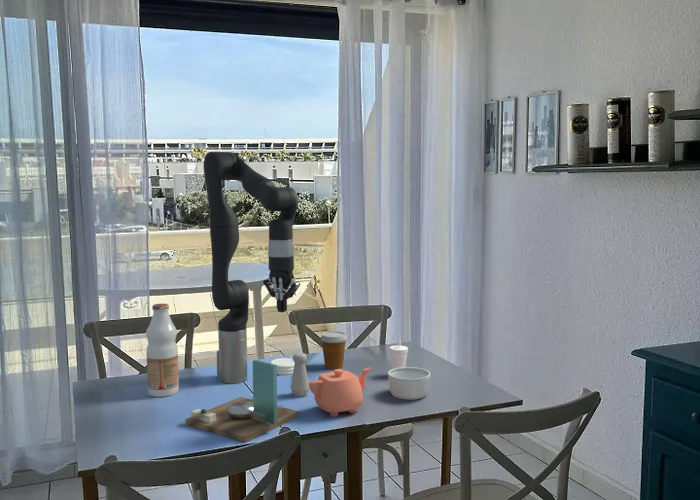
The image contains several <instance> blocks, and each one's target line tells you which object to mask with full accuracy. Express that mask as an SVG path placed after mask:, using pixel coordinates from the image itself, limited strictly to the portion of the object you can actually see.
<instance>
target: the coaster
mask: <svg viewBox="0 0 700 500" xmlns="http://www.w3.org/2000/svg"><path fill="white" fill-rule="evenodd" d="M269 363H271V364H275V365H277V376H278V375H279V376H288V375H293V370H294V364H295V362H294V361H293V358H288V357H285V358H284V357H283V358H282V357H280V358H274V359H272V360H271V361H270V362H269Z"/></svg>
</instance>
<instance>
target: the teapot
mask: <svg viewBox="0 0 700 500" xmlns="http://www.w3.org/2000/svg"><path fill="white" fill-rule="evenodd" d="M370 370H372V367H367V368H364V369H363V370H362V371H361V373H360V376H359V377H358V376H357V375H356V374H354V373H352V372H350V371H348V370H344V369H343V368H341V369H335V370H333V371H329V372H324V373H321V374H319V375H318V378H317V380H312V381H310V382H309V390H310V391H311V393H312V394H313V396H314V401H315V404H316V406H318V407H319V408H320V410H321V409H322V410H321V411H325V412H327V413H330V414H329V416H330V415H331V416H330V417H332V416H336V417H338V416H339V413H341V412H348V413H349V414H355V413H357V410H356V409H359V408H361V406H362V404H363V402H364V394H363V391H364V390H365V387H366V380H367V379H366V377H367V373H368V372H369V371H370Z"/></svg>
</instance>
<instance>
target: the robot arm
mask: <svg viewBox="0 0 700 500" xmlns="http://www.w3.org/2000/svg"><path fill="white" fill-rule="evenodd" d="M203 173H204V174H203V175H204V181H205V188H206V193H207V202H208V214H209V215H208V216H209V231H210V232H209V236H210V244H211V258H212V259H211V260H212V261H211V262H212V263H211V266H212V270H211V271H212V272H211V296H212V297H211V299H212V302H213V305H214V306H215V309H217V310H218V311H228V310H229V311H228V313H227V314H225V316H223V317H222V318H221V319H219V320H218V323H217V329H218V331H217V333H218V334H217V335H218V350H217V351H216V379H217V380H219V381H220V382H222V383H225V384H237V383H238V384H239V383H243V382H245V381H247V380H248V340H247V339H248V336H247V332H248V331H247V323H248V321H249V311H250V310H249V309H250V307H249V306H250V305H249V304H250V292H249V288H248V285H247V283H246V282H244V280H242V279H234V280H233V279H232V280H229V268H230V265H231V261H232V258H233V256H234V255H235V253H236V250H237V249H238V245H239V242H240V229H239V228H240V227H239V220H238V217H237V216H236V212H234V210H233V208H232V207H231V206H230V204H229V202H228V201H227V198H225V195H224V191H223V186H222V184H223V183H222V181H231V180H232V181H237V182H240V183H241V186H242V188H243V190H244V191H245V192H246V193H247V194H248V195H250V196H251V197H253V198H255V199H257V200H258V202H259V203H260V205H262V207H263V208H264V209H265V210H267V211H270V212H279V215H278V217H277V218H274V219H272V220H270V221H269V223H268V245H267V246H268V249H267V250H268V252H267V255H268V270H269V274H268V277H267V278H266V279H263V281H262V283H263V285H264V286H265V288H266V290H267V291H268V293H269V295H270V296H271V298H275V300H276V310H277V312H278V313H286V311H287V310H288V300H289V299H292V298H293V296H294V295H295V294H296V292H297V291H298V289H299V288H300V286H301V282H300V281H296V280H295V275H294V269H295V254H294V251H295V250H294V249H295V247H294V240H293V239H294V235H293V233H294V232H293V230H294V229H293V226H294V222H295V217H296V214H297V210H298V206H299V196H298V193H297V191H296V190H295V188H293V187H290V186H282V187H280V186H279V187H278V186H277V187H276V184H275V183H274V181H272V179H269V178H267V177H266V176H264V175H262V174H261V173H259V172H257V171H255V170H254V169H253V168H252V167H250V166H249V165H248V163H246V162H245V161H244V160H243V159H242V158H241V157H240V156H238V155H237V154H236V153H234V152H230V151H208V152H207V153H206V154H205V155H204V158H203Z"/></svg>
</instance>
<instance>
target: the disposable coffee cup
mask: <svg viewBox="0 0 700 500" xmlns="http://www.w3.org/2000/svg"><path fill="white" fill-rule="evenodd" d="M347 339H348V337H347V333H346V332H343V331H337V330H336V331H334V330H332V331H324V332H322V333H321V336H320V342H321V345H322V354H323V362H324V369H326V370H333V371H334V370H335V369H343V367H344V358H345V351H346V342H347Z"/></svg>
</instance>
